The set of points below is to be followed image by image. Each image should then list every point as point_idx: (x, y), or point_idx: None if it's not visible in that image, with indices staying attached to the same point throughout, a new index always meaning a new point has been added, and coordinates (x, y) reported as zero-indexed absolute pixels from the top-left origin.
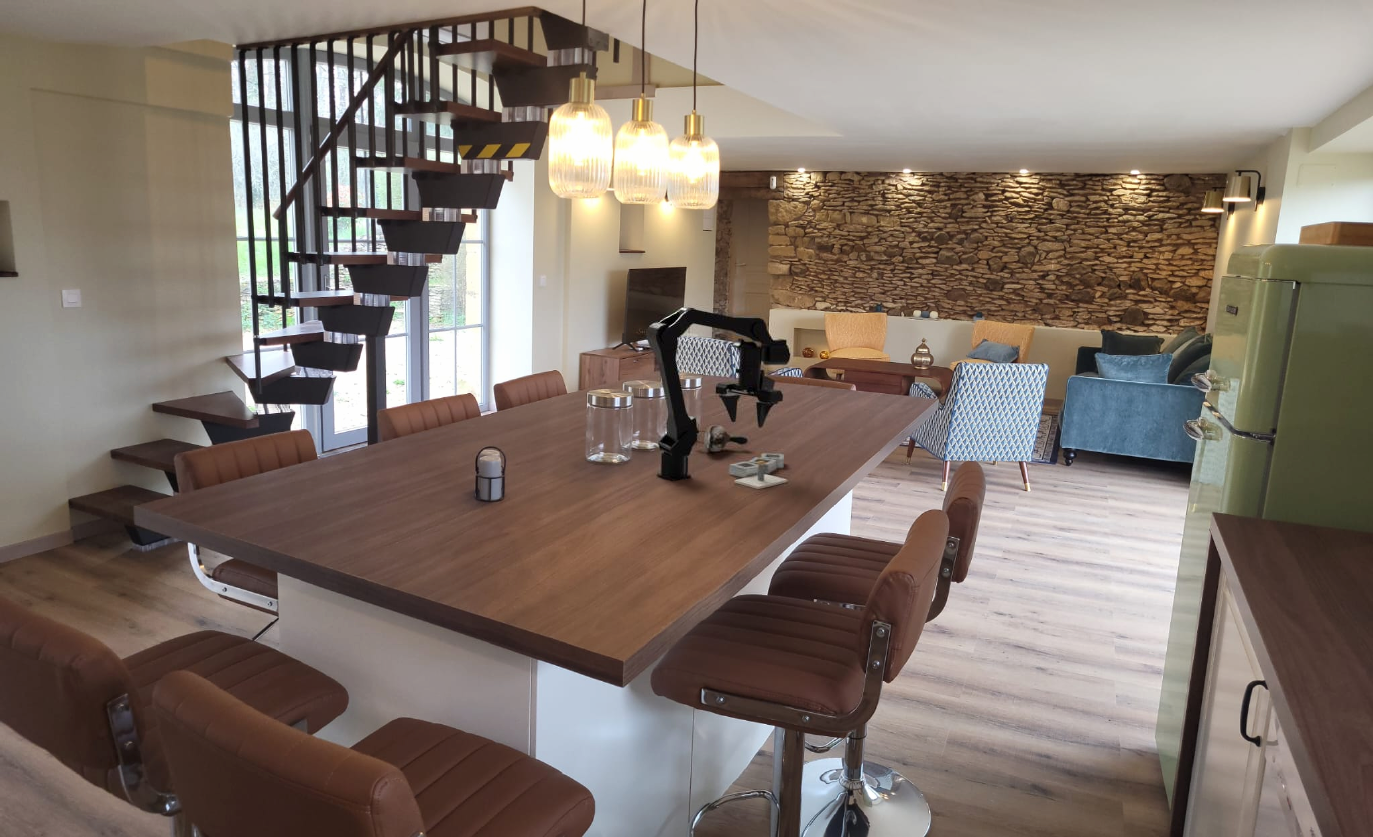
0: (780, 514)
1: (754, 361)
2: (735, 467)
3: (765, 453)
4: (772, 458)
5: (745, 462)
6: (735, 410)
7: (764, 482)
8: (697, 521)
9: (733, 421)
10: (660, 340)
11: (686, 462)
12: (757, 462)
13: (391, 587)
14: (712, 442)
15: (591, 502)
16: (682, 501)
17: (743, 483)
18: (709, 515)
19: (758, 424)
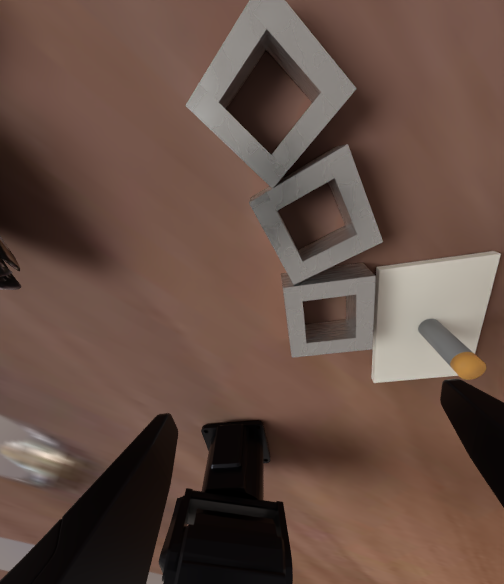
0: None
1: None
2: (319, 351)
3: (199, 89)
4: (310, 140)
5: (298, 297)
6: (122, 517)
7: (456, 335)
8: (498, 532)
9: (175, 431)
10: None
11: (246, 458)
12: (326, 258)
13: None
14: None
15: (307, 563)
16: (399, 503)
17: (409, 378)
18: (495, 512)
19: (462, 432)
